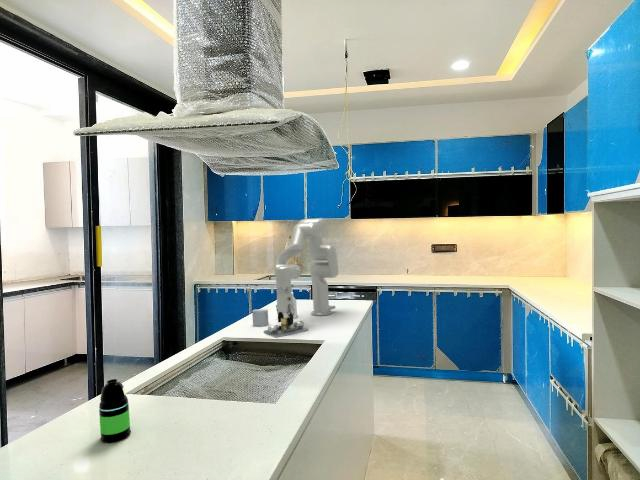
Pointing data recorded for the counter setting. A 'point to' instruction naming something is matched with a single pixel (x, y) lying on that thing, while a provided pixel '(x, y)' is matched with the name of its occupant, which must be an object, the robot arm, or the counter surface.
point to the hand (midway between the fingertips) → (285, 323)
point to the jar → (294, 308)
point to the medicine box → (260, 317)
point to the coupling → (284, 324)
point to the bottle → (114, 413)
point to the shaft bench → (286, 330)
